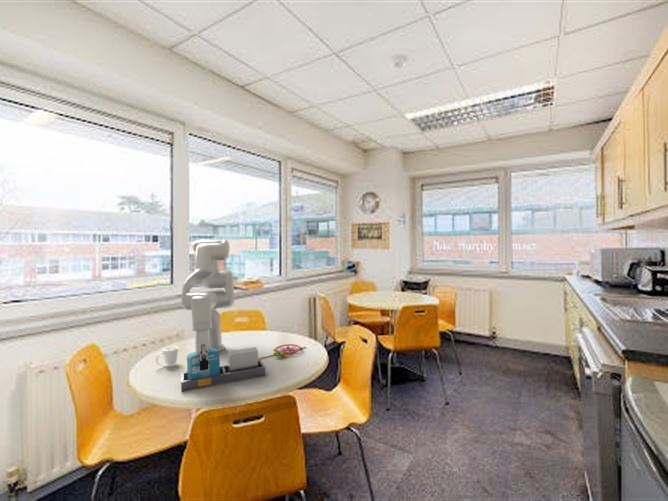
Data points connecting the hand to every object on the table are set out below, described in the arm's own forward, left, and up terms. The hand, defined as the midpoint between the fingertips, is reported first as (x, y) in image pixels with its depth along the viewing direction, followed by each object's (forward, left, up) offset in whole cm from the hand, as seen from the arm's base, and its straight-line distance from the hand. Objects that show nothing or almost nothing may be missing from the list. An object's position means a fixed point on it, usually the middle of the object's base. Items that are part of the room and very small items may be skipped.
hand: (203, 365), depth 141 cm
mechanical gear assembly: (-18, +38, -8) cm, 42 cm away
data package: (0, 0, -6) cm, 6 cm away
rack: (+1, +8, -7) cm, 11 cm away
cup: (-26, -15, -7) cm, 31 cm away
